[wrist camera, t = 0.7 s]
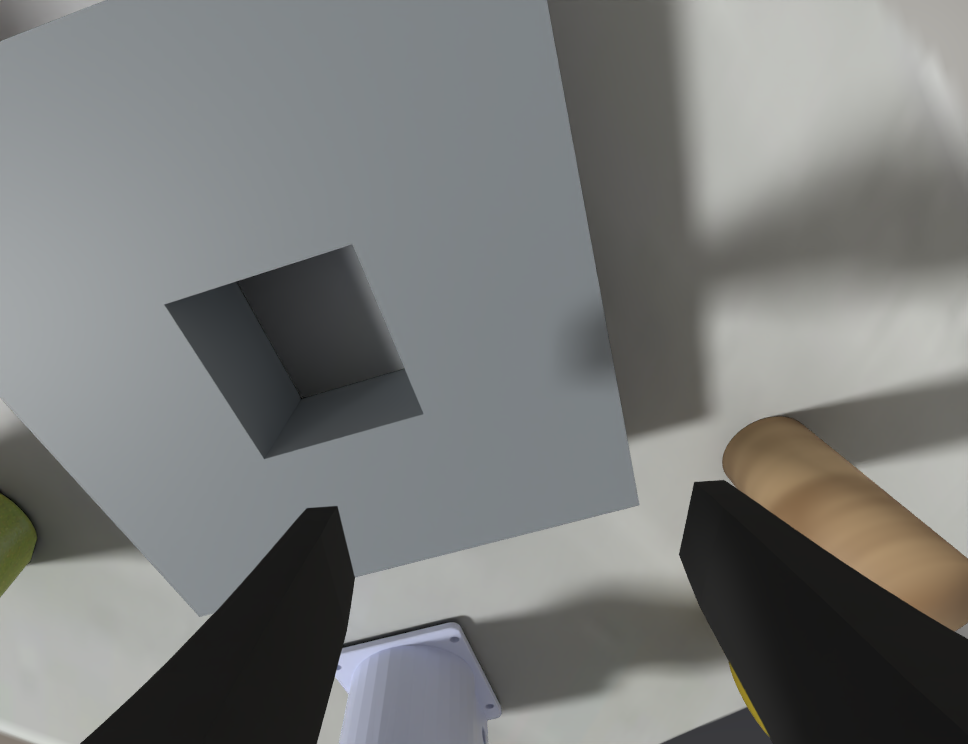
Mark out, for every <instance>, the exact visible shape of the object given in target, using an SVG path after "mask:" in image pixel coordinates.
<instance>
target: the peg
mask: <svg viewBox="0 0 968 744" xmlns="http://www.w3.org/2000/svg"><path fill="white" fill-rule="evenodd" d="M722 464H723V469H724V472H725V474H726V475H727V477H728V478H729V479H730V480H731V482H732V483H733V484H734V485H735V487H736V488H737V489H738V490H740V491H741V492H743V493H744V494H746V495H747V496H749V497H750V498H751V499H753V500H754V501H756V502H757V503H759V504H760V505H761V506H763V507H764V508H766V509H767V510H769V511H770V512H771V513H773V514H774V515H776V516H777V517H779V518H780V519H781V520H783V521H784V522H786V523H787V524H789V525H790V526H791V527H793V528H794V529H796V530H797V531H799V532H800V533H801V534H803V535H804V536H806V537H807V538H809V539H810V540H812V541H813V542H814V543H816V544H817V545H819V546H820V547H822V548H823V549H825V550H826V551H828V552H829V553H831V554H832V555H834V556H835V557H837V558H838V559H839V560H841V561H842V562H844V563H845V564H847V565H848V566H850V567H851V568H853V569H855V570H856V571H858V572H859V573H861V574H862V575H864V576H865V577H867V578H868V579H870V580H871V581H873V582H874V583H876V584H878V585H879V586H881V587H882V588H884V589H886V590H887V591H889V592H890V593H892V594H894V595H895V596H897V597H898V598H900V599H902V600H903V601H905V602H906V603H908V604H909V605H911V606H913V607H914V608H916V609H917V610H919V611H921V612H922V613H924V614H926V615H927V616H929V617H931V618H932V619H934V620H936V621H937V622H939V623H941V624H942V625H944V626H946V627H947V628H949V629H951V630H953V631H954V632H955V631H956V630H958V629H959V628H961V627H963V626H964V625H965V624H967V623H968V558H967V557H965V556H964V555H963V554H962V553H960V552H959V551H958V550H957V549H955V548H954V547H953V546H952V545H951V544H949V543H948V542H947V541H946V540H944V539H943V538H942V537H941V536H939V535H938V534H937V533H936V532H934V531H933V530H932V529H931V528H930V527H928V526H927V525H926V524H925V523H923V522H922V521H921V520H920V519H918V518H917V517H916V516H915V515H914V514H912V513H911V512H910V511H909V510H907V509H906V508H905V507H904V506H902V505H901V504H900V503H899V502H898V501H896V500H895V499H894V498H893V497H891V496H890V495H889V494H888V493H886V492H885V491H884V490H883V489H882V488H880V487H879V486H878V485H877V484H875V483H874V482H873V481H872V480H870V479H869V478H868V477H867V476H865V475H864V474H863V473H862V472H861V471H859V470H858V469H857V468H856V467H854V466H853V465H852V464H851V463H849V462H848V461H847V460H846V459H845V458H843V457H842V456H841V455H840V454H838V453H837V452H836V451H835V450H833V449H832V448H831V447H830V446H829V445H827V444H826V443H825V442H824V441H822V440H821V439H820V438H819V437H817V436H816V435H815V434H814V433H813V432H811V431H810V430H809V429H808V428H806V427H805V426H804V425H803V424H801V423H800V422H799V421H797V420H795V419H793V418H789V417H783V416H776V417H769V418H764V419H761V420H758V421H756V422H753V423H752V424H750V425H748V426H746V427H745V428H743V429H742V430H741V431H740V432H738V433H737V434H736V435H735V436H734V437H733V438H732V440H731V441H730V442H729V444H728V445H727V447H726V449H725V452H724V455H723V460H722Z"/></svg>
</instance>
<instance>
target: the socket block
mask: <svg viewBox="0 0 968 744" xmlns="http://www.w3.org/2000/svg"><path fill="white" fill-rule="evenodd" d="M349 245H353V247H354V250H355V252H356V254H357V257H358V259H359V262H360V264H361V266H362V269H363V271H364V273H365V276H366V278H367V281H368V283H369V285H370V288H371V290H372V292H373V295H374V297H375V300H376V302H377V304H378V307H379V309H380V311H381V314H382V316H383V319H384V321H385V323H386V326H387V328H388V330H389V333H390V335H391V338H392V340H393V342H394V345H395V347H396V349H397V352H398V354H399V357H400V359H401V361H402V364H403V366H404V368H405V369H403V370H399V371H396V372H393V373H389V374H386V375H382V376H379V377H375V378H372V379H369V380H365V381H362V382H358V383H355V384H351V385H348V386H345V387H341V388H338V389H334V390H331V391H328V392H324V393H321V394H317V395H314V396H310V397H307V398H304V399H301V397H300V396H299V394H298V392H297V390H296V388H295V387H294V385H293V383H292V381H291V379H290V378H289V376H288V374H287V372H286V370H285V369H284V367H283V365H282V363H281V362H280V360H279V358H278V356H277V354H276V353H275V351H274V349H273V347H272V345H271V344H270V342H269V340H268V338H267V336H266V335H265V333H264V331H263V329H262V327H261V326H260V324H259V322H258V320H257V318H256V317H255V315H254V313H253V311H252V309H251V308H250V306H249V304H248V302H247V301H246V299H245V297H244V295H243V293H242V292H241V290H240V288H239V286H238V284H237V283H236V281H239V280H242V279H245V278H249V277H252V276H255V275H258V274H261V273H264V272H267V271H270V270H274V269H277V268H280V267H283V266H286V265H289V264H292V263H296V262H299V261H302V260H305V259H308V258H311V257H314V256H317V255H321V254H324V253H327V252H330V251H333V250H336V249H339V248H342V247H346V246H349ZM0 398H1V399H2V400H3V401H4V402H5V404H6V405H7V406H8V407H9V408H10V409H11V410H12V411H13V412H14V413H15V415H16V416H17V417H18V418H19V419H20V420H21V421H22V422H23V423H24V424H25V426H26V427H27V428H28V429H29V430H30V431H31V432H32V433H33V434H34V435H35V437H36V438H37V439H38V440H39V441H40V442H41V443H42V444H43V445H44V446H45V448H46V449H47V450H48V451H49V452H50V453H51V454H52V455H53V456H54V457H55V459H56V460H57V461H58V462H59V463H60V464H61V465H62V466H63V467H64V468H65V470H66V471H67V472H68V473H69V474H70V475H71V476H72V477H73V478H74V479H75V480H76V482H77V483H78V484H79V485H80V486H81V487H82V488H83V489H84V490H85V491H86V493H87V494H88V495H89V496H90V497H91V498H92V499H93V500H94V501H95V502H96V504H97V505H98V506H99V507H100V508H101V509H102V510H103V511H104V512H105V513H106V515H107V516H108V517H109V518H110V519H111V520H112V521H113V522H114V523H115V524H116V526H117V527H118V528H119V529H120V530H121V531H122V532H123V533H124V534H125V535H126V537H127V538H128V539H129V540H130V541H131V542H132V543H133V544H134V545H135V546H136V548H137V549H138V550H139V551H140V552H141V553H142V554H143V555H144V556H145V557H146V559H147V560H148V561H149V562H150V563H151V564H152V565H153V566H154V567H155V568H156V569H157V571H158V572H159V573H160V574H161V575H162V576H163V577H164V578H165V579H166V580H167V582H168V583H169V584H170V585H171V586H172V587H173V588H174V589H175V590H176V591H177V593H178V594H179V595H180V596H181V597H182V598H183V599H184V600H185V601H186V602H187V604H188V605H189V606H190V607H191V608H192V609H193V610H194V611H195V612H196V613H197V615H198V616H199V617H201V616H205V615H209V614H213V613H215V612H216V611H217V610H218V608H219V607H220V606H221V605H222V604H223V603H224V602H225V601H226V600H227V599H228V597H229V596H230V595H231V594H232V593H233V592H234V591H235V590H236V588H237V587H238V586H239V585H240V584H241V583H242V582H243V581H244V580H245V578H246V577H247V576H248V575H249V574H250V573H251V572H252V571H253V569H254V568H255V567H256V566H257V565H258V564H259V563H260V561H261V560H262V559H263V558H264V557H265V556H266V554H267V553H268V552H269V551H270V550H271V549H272V547H273V546H274V545H275V544H276V543H277V542H278V540H279V539H280V538H281V537H282V536H283V535H284V533H285V532H286V531H287V530H288V529H289V527H290V526H291V525H292V524H293V523H294V522H295V521H296V519H297V518H298V517H299V516H300V515H301V514H302V513H303V511H304V510H305V509H306V508H314V507H329V506H338V510H339V514H340V518H341V522H342V526H343V531H344V535H345V539H346V543H347V547H348V551H349V555H350V559H351V563H352V568H353V572H354V576H355V577H358V576H362V575H366V574H370V573H374V572H378V571H382V570H386V569H390V568H394V567H398V566H402V565H406V564H410V563H414V562H418V561H421V560H425V559H429V558H433V557H437V556H441V555H445V554H449V553H453V552H457V551H461V550H465V549H469V548H473V547H477V546H481V545H485V544H488V543H492V542H496V541H500V540H504V539H508V538H512V537H516V536H520V535H524V534H528V533H532V532H536V531H540V530H544V529H548V528H552V527H555V526H559V525H563V524H567V523H571V522H575V521H579V520H583V519H587V518H591V517H595V516H599V515H603V514H607V513H611V512H615V511H619V510H622V509H626V508H630V507H634V506H638V505H639V500H638V495H637V489H636V484H635V478H634V473H633V467H632V462H631V457H630V451H629V446H628V440H627V435H626V429H625V424H624V418H623V413H622V407H621V402H620V397H619V391H618V386H617V380H616V375H615V369H614V364H613V358H612V353H611V347H610V342H609V336H608V331H607V326H606V320H605V315H604V309H603V304H602V298H601V293H600V287H599V282H598V276H597V271H596V266H595V260H594V255H593V249H592V244H591V238H590V233H589V227H588V222H587V216H586V211H585V206H584V200H583V195H582V189H581V184H580V178H579V173H578V167H577V162H576V156H575V151H574V145H573V140H572V135H571V129H570V124H569V118H568V113H567V107H566V102H565V96H564V91H563V85H562V80H561V75H560V69H559V64H558V58H557V53H556V47H555V42H554V36H553V31H552V25H551V20H550V15H549V9H548V4H547V0H105V1H103V2H100V3H98V4H95V5H92V6H90V7H87V8H85V9H82V10H79V11H77V12H74V13H72V14H69V15H67V16H64V17H61V18H59V19H56V20H54V21H51V22H48V23H46V24H43V25H41V26H38V27H36V28H33V29H30V30H28V31H25V32H23V33H20V34H17V35H15V36H12V37H10V38H7V39H5V40H2V41H0Z"/></svg>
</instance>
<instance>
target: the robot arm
mask: <svg viewBox="0 0 968 744" xmlns="http://www.w3.org/2000/svg"><path fill="white" fill-rule="evenodd" d="M679 556H680V558H681V561H682V563H683V566H684V569H685V571H686V574H687V577H688V579H689V582H690V584H691V587H692V589H693V592H694V594H695V596H696V599H697V601H698V604H699V606H700V608H701V610H702V612H703V614H704V615H705V617H706V619H707V621H708V623H709V625H710V627H711V629H712V631H713V632H714V634H715V636H716V638H717V640H718V642H719V644H720V646H721V647H722V649H723V651H724V653H725V655H726V657H727V659H728V660H729V662H730V664H731V666H732V668H733V670H734V671H735V673H736V675H737V677H738V679H739V681H740V683H741V684H742V686H743V688H744V690H745V692H746V694H747V696H748V697H749V699H750V701H751V703H752V705H753V707H754V708H755V710H756V712H757V714H758V716H759V718H760V720H761V721H762V723H763V725H764V727H765V729H766V731H767V733H768V735H769V737H770V739H771V741H772V743H773V744H968V639H966V638H965V637H963V636H961V635H960V634H958V633H956V632H954V631H953V630H951V629H949V628H947V627H946V626H944V625H942V624H941V623H939V622H937V621H936V620H934V619H932V618H931V617H929V616H927V615H926V614H924V613H922V612H921V611H919V610H917V609H916V608H914V607H913V606H911V605H909V604H908V603H906V602H905V601H903V600H902V599H900V598H898V597H897V596H895V595H894V594H892V593H890V592H889V591H887V590H886V589H884V588H882V587H881V586H879V585H878V584H876V583H874V582H873V581H871V580H870V579H868V578H867V577H865V576H864V575H862V574H861V573H859V572H858V571H856V570H855V569H853V568H851V567H850V566H848V565H847V564H845V563H844V562H842V561H841V560H839V559H838V558H837V557H835V556H834V555H832V554H831V553H829V552H828V551H826V550H825V549H823V548H822V547H820V546H819V545H817V544H816V543H814V542H813V541H812V540H810V539H809V538H807V537H806V536H804V535H803V534H801V533H800V532H799V531H797V530H796V529H794V528H793V527H791V526H790V525H789V524H787V523H786V522H784V521H783V520H781V519H780V518H779V517H777V516H776V515H774V514H773V513H771V512H770V511H769V510H767V509H766V508H764V507H763V506H761V505H760V504H759V503H757V502H756V501H754V500H753V499H751V498H750V497H749V496H747V495H746V494H744V493H743V492H741V491H740V490H738V489H737V488H735V487H734V486H732V485H731V484H729V483H728V482H726V481H724V480H719V481H704V482H694V486H693V491H692V496H691V500H690V505H689V510H688V515H687V519H686V524H685V529H684V534H683V539H682V543H681V548H680V553H679ZM354 580H355V576H354V572H353V568H352V563H351V559H350V555H349V551H348V547H347V543H346V539H345V535H344V531H343V526H342V522H341V518H340V514H339V510H338V506H329V507H314V508H306V509H305V510H304V511H303V513H302V514H301V515H300V516H299V517H298V518H297V519H296V521H295V522H294V523H293V524H292V525H291V526H290V527H289V529H288V530H287V531H286V532H285V533H284V535H283V536H282V537H281V538H280V539H279V540H278V542H277V543H276V544H275V545H274V546H273V547H272V549H271V550H270V551H269V552H268V553H267V554H266V556H265V557H264V558H263V559H262V560H261V561H260V563H259V564H258V565H257V566H256V567H255V568H254V569H253V571H252V572H251V573H250V574H249V575H248V576H247V577H246V578H245V580H244V581H243V582H242V583H241V584H240V585H239V586H238V587H237V588H236V590H235V591H234V592H233V593H232V594H231V595H230V596H229V597H228V599H227V600H226V601H225V602H224V603H223V604H222V605H221V606H220V607H219V608H218V610H217V611H216V612H215V613H214V614H213V615H212V616H211V617H210V618H209V619H208V620H207V621H206V622H205V623H204V624H203V625H202V626H201V627H200V628H199V630H198V631H197V632H196V633H195V634H194V635H193V636H192V637H191V638H190V639H189V640H188V641H187V642H186V643H185V644H184V645H183V646H182V647H181V648H180V649H179V650H178V651H177V652H176V653H175V655H174V656H173V657H172V658H171V659H170V660H169V661H168V662H167V663H166V664H165V665H164V666H163V667H162V668H161V669H160V670H159V671H157V672H156V673H155V674H154V675H153V676H152V677H151V678H150V679H149V680H148V681H147V682H146V683H145V684H144V685H143V686H142V687H141V688H140V689H139V690H138V691H137V692H136V693H135V694H134V695H133V696H132V697H131V698H130V699H128V700H127V701H126V702H125V703H124V704H123V705H122V706H121V707H120V708H119V709H118V710H117V711H116V712H114V713H113V714H112V715H111V716H110V717H109V718H108V719H107V720H106V721H105V722H104V723H103V724H101V725H100V726H99V727H98V728H97V729H96V730H95V731H94V732H93V733H92V734H90V735H89V736H88V737H87V738H86V739H85V740H84V741H83V742H81V743H80V744H317V740H318V737H319V733H320V729H321V726H322V722H323V718H324V714H325V711H326V707H327V703H328V700H329V696H330V692H331V689H332V685H333V681H334V677H336V679H337V680H338V681H339V682H340V684H341V685H342V686H343V688H344V689H345V690H346V692H347V693H348V694H349V695H348V700H347V705H346V710H345V715H344V720H343V725H342V730H341V735H340V740H339V744H488V727H487V720H491V719H496V718H498V717H500V716H501V714H502V711H501V706H500V704H499V702H498V700H497V698H496V696H495V694H494V692H493V690H492V688H491V686H490V684H489V682H488V680H487V678H486V676H485V674H484V672H483V670H482V668H481V666H480V664H479V662H478V660H477V658H476V656H475V654H474V652H473V650H472V648H471V646H470V644H469V642H468V640H467V639H466V637H465V635H464V633H463V631H462V629H461V627H460V625H459V624H457V623H455V622H449V623H445V624H441V625H437V626H432V627H428V628H424V629H420V630H416V631H412V632H407V633H403V634H399V635H395V636H391V637H387V638H382V639H378V640H374V641H370V642H366V643H362V644H358V645H353V646H349V647H345V648H342V647H343V643H344V640H345V636H346V632H347V626H348V620H349V614H350V608H351V601H352V594H353V587H354Z"/></svg>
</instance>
